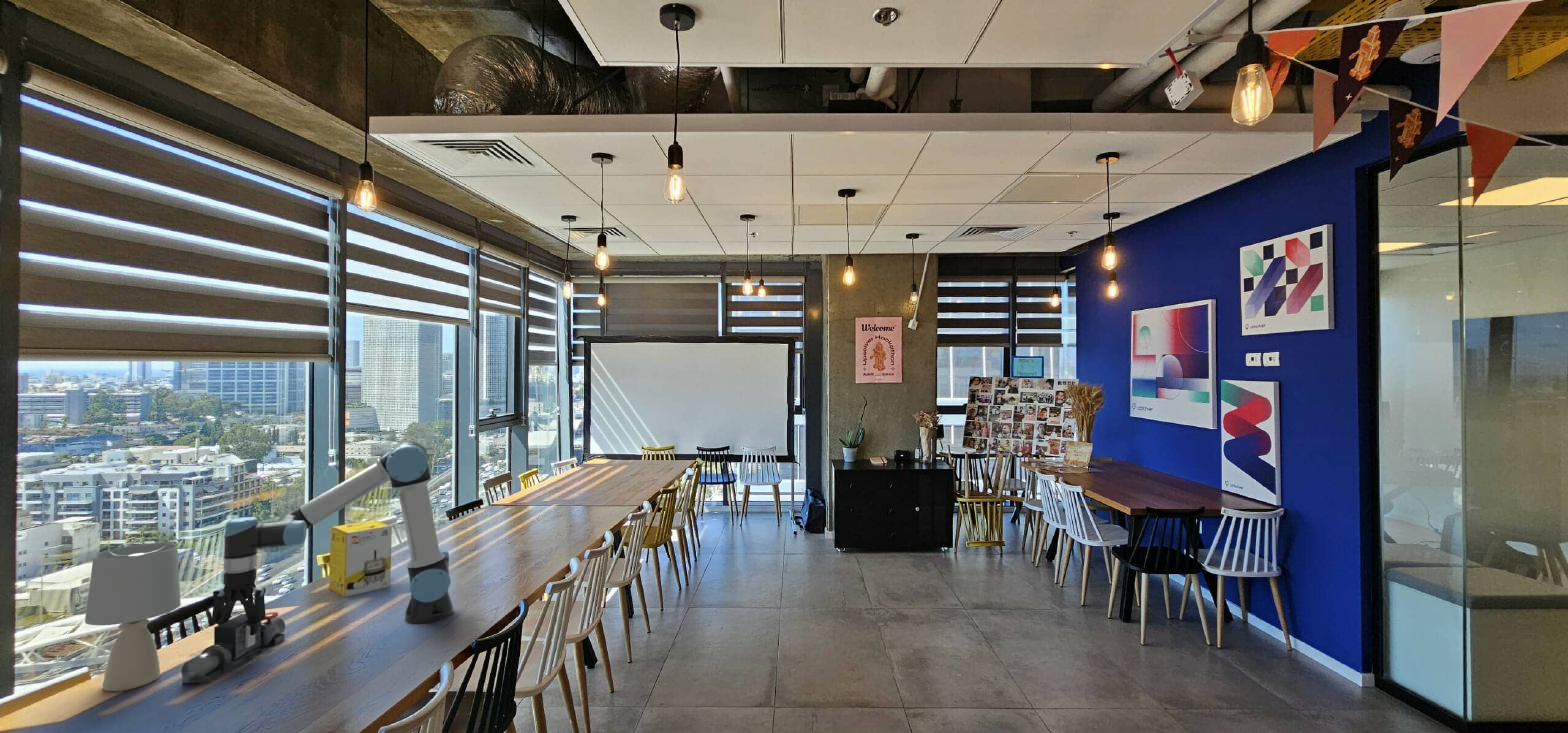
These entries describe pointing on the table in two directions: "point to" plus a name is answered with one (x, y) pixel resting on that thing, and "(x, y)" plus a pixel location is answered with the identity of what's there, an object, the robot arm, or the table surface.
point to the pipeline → (220, 656)
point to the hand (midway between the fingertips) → (238, 645)
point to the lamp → (133, 607)
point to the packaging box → (360, 557)
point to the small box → (236, 636)
